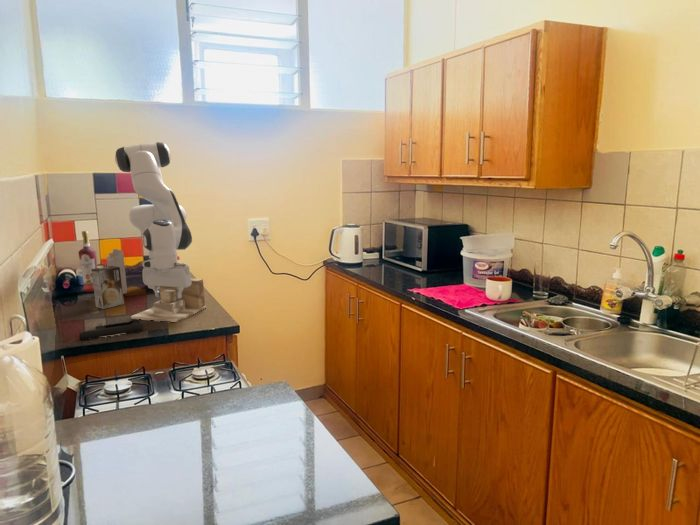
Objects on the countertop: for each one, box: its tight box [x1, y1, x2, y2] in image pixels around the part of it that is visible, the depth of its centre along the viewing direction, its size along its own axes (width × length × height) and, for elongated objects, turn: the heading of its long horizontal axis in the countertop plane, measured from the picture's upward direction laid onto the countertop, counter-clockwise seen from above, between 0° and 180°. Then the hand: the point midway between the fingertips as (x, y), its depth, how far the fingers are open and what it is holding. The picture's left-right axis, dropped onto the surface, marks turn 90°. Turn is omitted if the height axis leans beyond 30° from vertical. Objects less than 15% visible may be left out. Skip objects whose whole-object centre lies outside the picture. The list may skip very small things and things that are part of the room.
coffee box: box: [91, 265, 125, 310], centre depth 219 cm, size 9×6×16 cm
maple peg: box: [160, 290, 176, 304], centre depth 207 cm, size 4×4×8 cm
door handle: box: [78, 319, 144, 340], centre depth 187 cm, size 3×20×16 cm
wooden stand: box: [130, 277, 207, 322], centre depth 207 cm, size 20×20×12 cm
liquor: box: [78, 230, 98, 293], centre depth 243 cm, size 7×7×28 cm
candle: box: [106, 248, 128, 295], centre depth 236 cm, size 7×14×20 cm, turn 159°
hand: (168, 297), depth 206 cm, fingers open, 8 cm apart
